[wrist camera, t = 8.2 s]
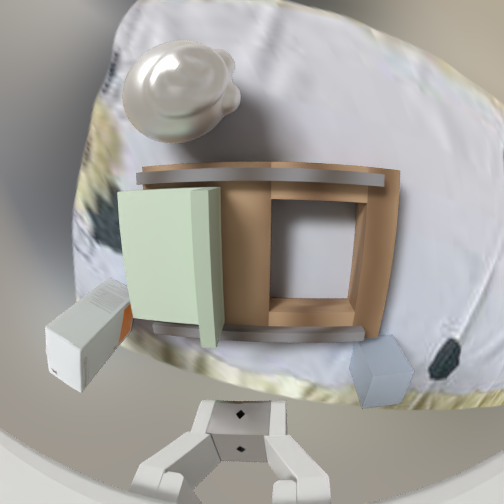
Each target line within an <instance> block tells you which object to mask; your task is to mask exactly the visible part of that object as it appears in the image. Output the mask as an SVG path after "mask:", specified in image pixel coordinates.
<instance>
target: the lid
mask: <svg viewBox="0 0 504 504" xmlns="http://www.w3.org/2000/svg"><path fill="white" fill-rule="evenodd" d="M117 193H118V209H119V222H120V233H121V242H122V251H123V259H124V266H125V273H126V280H127V286H128V292H129V298H130V303H131V309H132V314H133V318H138V319H146V320H155V321H164V322H175V323H185V324H198V325H199V332H200V341H201V348H213V349H216V347H217V344H218V341H219V338H220V335H221V332H222V329H223V326H224V323H225V317H224V295H223V269H222V237H221V187H191V188H167V189H149V190H133V191H121V192H117Z"/></svg>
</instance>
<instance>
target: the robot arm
mask: <svg viewBox="0 0 504 504" xmlns="http://www.w3.org/2000/svg"><path fill="white" fill-rule="evenodd" d="M286 411H287V409H286V400H275V401H242V402H241V401H219V400H202V401H201V403H200V405H199V408H198V412H197V414H196V417H195V420H194V423H193V427H192V429H191V432H186V433H184V434H183V435H182V436H180V437H179V438H178V439H176V440H175V441H173V442H172V443H170V444H169V445H168V446H166V447H165V448H164V449H162V450H161V451H159V452H158V453H156V454H155V455H153V456H152V457H150V458H149V459H147V460H146V461H144V462H142V463H141V464H140V466H139V468H138V470H137V472H136V474H135V477H134V479H133V482H132V484H131V486H130V488H129V490H128V491H126V490H123V489H120V488H117V487H115V486H112V485H109V484H106V483H104V482H101V481H98V480H96V479H93V478H91V477H88V476H86V475H84V474H81V473H79V472H77V471H75V470H73V469H70V468H68V467H66V466H64V465H62V464H60V463H58V462H56V461H54V460H52V459H50V458H49V457H47V456H45V455H43V454H41V453H40V452H38V451H36V450H34V449H33V448H31V447H29V446H28V445H26V444H24V443H23V442H21V441H20V440H18V439H17V438H15V437H14V436H12V435H10V434H9V433H8V432H6V431H5V430H3V429H2V428H1V427H0V504H202V502H201V501H200V500H199V498H198V497H197V495H196V494H195V493H194V492H193V489H194V488H195V487H196V486H197V485H198V484H199V483H200V482H202V481H203V480H204V479H205V477H207V475H209V474H210V472H212V471H213V470H214V469H215V468H216V467H217V466H218V464H219V463H220V462H221V461H242V462H244V461H245V462H268V464H269V465H270V467H271V468H272V470H273V471H274V473H275V474H276V476H277V477H278V479H279V481H277V482H275V483H274V486H273V498H272V504H331V495H330V484H329V476H328V475H327V474H326V473H325V472H324V471H323V470H322V469H321V468H320V467H319V466H318V465H317V463H316V462H315V461H314V460H313V459H312V458H311V457H310V456H309V455H308V454H307V453H306V452H305V451H304V450H303V448H302V447H301V446H300V445H299V444H298V443H297V442H296V441H295V440H294V439H293V437H292V436H291V435H287V413H286ZM364 504H504V449H503V450H502V451H500V452H499V453H497V454H495V455H493V456H492V457H490V458H488V459H486V460H484V461H482V462H480V463H479V464H477V465H475V466H473V467H471V468H469V469H466V470H464V471H462V472H460V473H458V474H456V475H453V476H451V477H449V478H446V479H444V480H441V481H439V482H436V483H434V484H431V485H428V486H426V487H423V488H420V489H417V490H414V491H411V492H407V493H404V494H401V495H397V496H394V497H390V498H386V499H383V500H378V501H374V502H370V503H364Z"/></svg>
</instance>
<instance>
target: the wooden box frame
mask: <svg viewBox="0 0 504 504" xmlns="http://www.w3.org/2000/svg"><path fill="white" fill-rule="evenodd" d="M142 170H143V172H141V173H136V179H137V185H141V184H143V190H149V189H167V188H191V187H221V237H222V269H223V295H224V317H225V323H224V326H223V329H222V332H221V335H220V338H219V340H232V341H252V342H287V343H319V342H354V341H363V340H364V338H378V334H379V330H380V325H381V321H382V317H383V312H384V307H385V302H386V297H387V292H388V286H389V280H390V274H391V268H392V261H393V254H394V246H395V238H396V229H397V218H398V206H399V189H400V171H399V170H391V169H383V168H373V167H363V166H352V165H339V164H323V163H303V162H208V163H187V164H172V165H159V166H147V167H142ZM271 199H294V200H322V201H343V202H357V211H356V226H355V238H354V249H353V259H352V268H351V276H350V284H349V292H348V298H343V299H314V298H270V259H271ZM152 327H153V332H154V333H155V334H164V335H172V336H182V337H192V338H200V332H199V325H198V324H185V323H175V322H164V321H154V323H153V324H152Z"/></svg>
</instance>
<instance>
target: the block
mask: <svg viewBox="0 0 504 504" xmlns="http://www.w3.org/2000/svg"><path fill="white" fill-rule="evenodd" d="M349 369H350V372H351V375H352V378H353V381H354V384H355V387H356V391H357V394H358V397H359V400H360V404H361V407H362V409H363V408H372V407H380V406H387V405H393V404H400V403H401V402H402V400H403V397H404V395H405V393H406V391H407V388H408V386H409V384H410V381H411V379H412V376H413V374H414V370H413V368H412V367H411V365H410V363H409V362H408V360H407V358H406V357H405V355H404V353H403V352H402V350H401V348H400V347H399V345H398V343H397V342H396V340H395V339H394V337H393V335H378V338H364V340H363V341H355V344H354V349H353V353H352V357H351V362H350V366H349Z"/></svg>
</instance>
